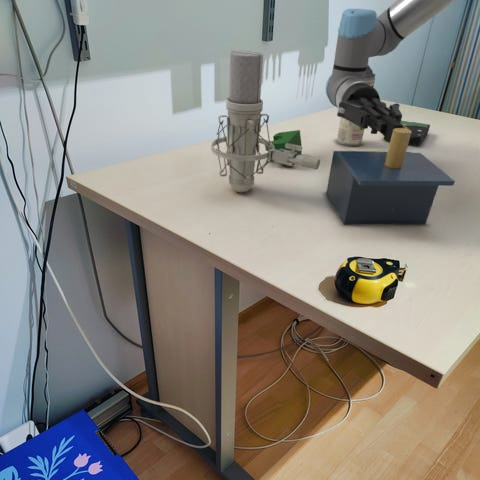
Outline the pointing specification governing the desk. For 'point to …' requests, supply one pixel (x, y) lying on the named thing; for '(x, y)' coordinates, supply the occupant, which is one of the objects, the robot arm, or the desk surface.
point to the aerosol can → (349, 131)
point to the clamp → (286, 141)
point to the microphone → (250, 125)
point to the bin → (376, 199)
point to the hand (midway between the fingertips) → (396, 133)
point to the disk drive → (415, 132)
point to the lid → (394, 165)
